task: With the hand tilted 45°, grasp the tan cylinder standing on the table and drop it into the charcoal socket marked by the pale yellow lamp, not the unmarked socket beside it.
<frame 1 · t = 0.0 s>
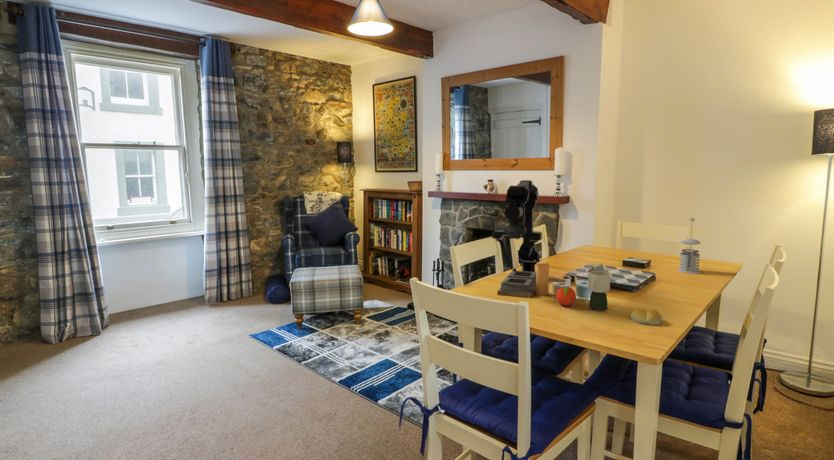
hand: (516, 256, 185), 15 cm above the table, tool pointing down, fingers open, 9 cm apart
bread roll: (646, 321, 151), on the table
electrical switch: (597, 287, 192), on the table
tan cylinder: (542, 294, 184), on the table
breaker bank: (519, 288, 193), on the table
french press: (688, 271, 215), on the table
tomato: (565, 306, 168), on the table
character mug: (598, 309, 164), on the table
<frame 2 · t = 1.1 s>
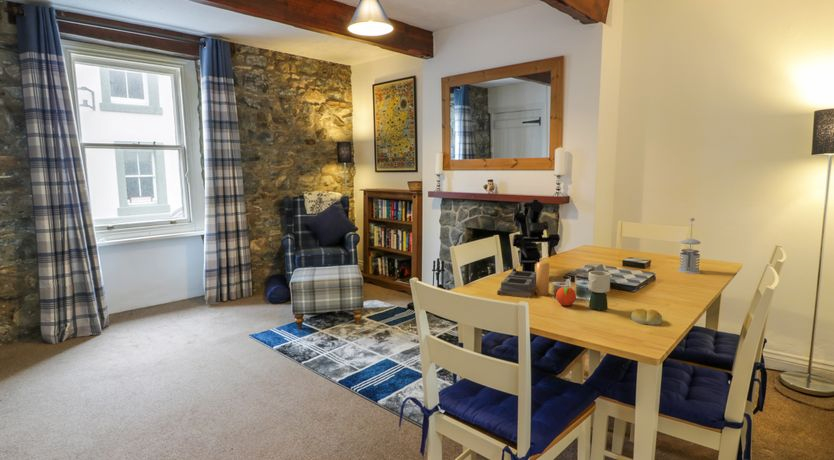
hand: (538, 257, 190), 13 cm above the table, tool tilted 45°, fingers open, 9 cm apart
nothing on the table moved.
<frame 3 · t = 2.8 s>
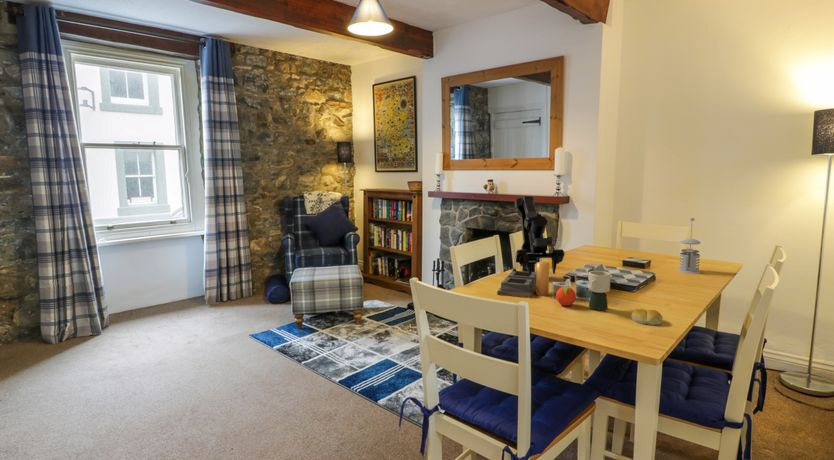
hand: (542, 273, 183), 8 cm above the table, tool tilted 45°, fingers open, 9 cm apart
nothing on the table moved.
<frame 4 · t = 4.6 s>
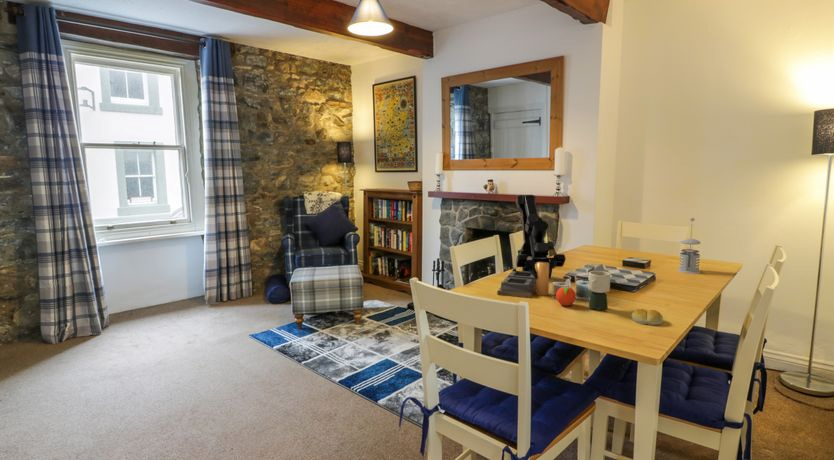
hand: (543, 278, 181), 7 cm above the table, tool tilted 45°, fingers closed on tan cylinder, 5 cm apart
tan cylinder: (542, 294, 184), on the table, touching gripper
everything else where it was.
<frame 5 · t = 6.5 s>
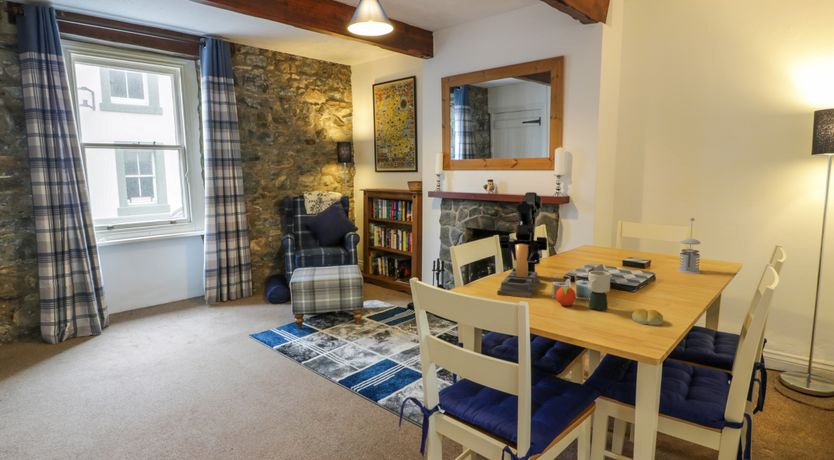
hand: (521, 260, 183), 13 cm above the table, tool tilted 45°, fingers closed on tan cylinder, 5 cm apart
tan cylinder: (521, 275, 186), point 7 cm above the table, touching gripper
everything else where it was.
when the fingers open (10 cm above the table, at t = 8.4 s): tan cylinder drops 1 cm, resting on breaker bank.
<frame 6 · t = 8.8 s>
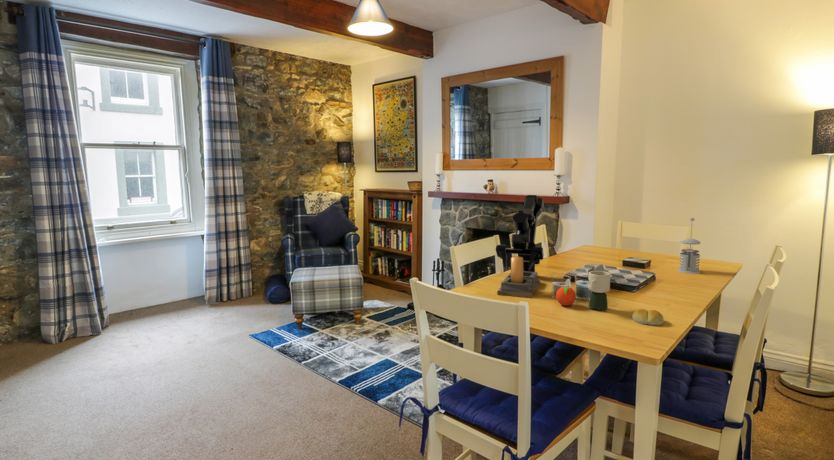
hand: (516, 269, 185), 10 cm above the table, tool tilted 45°, fingers open, 9 cm apart
tan cylinder: (517, 288, 187), point 2 cm above the table, touching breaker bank
everything else where it was.
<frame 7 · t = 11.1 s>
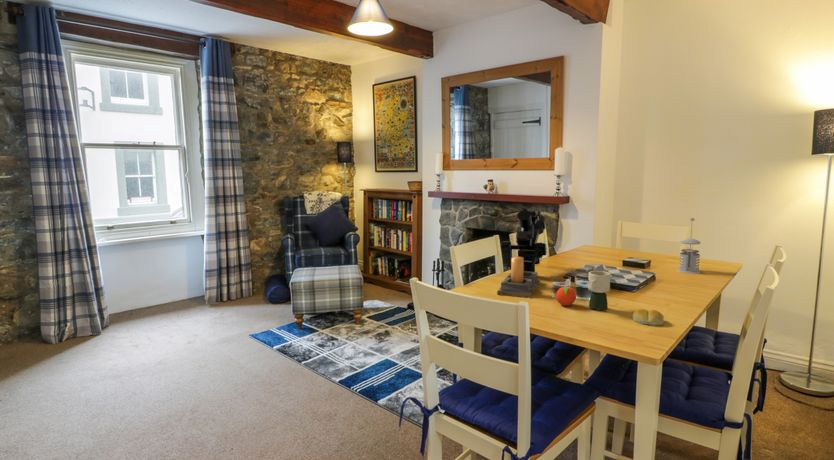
hand: (520, 264, 193), 10 cm above the table, tool tilted 45°, fingers open, 9 cm apart
nothing on the table moved.
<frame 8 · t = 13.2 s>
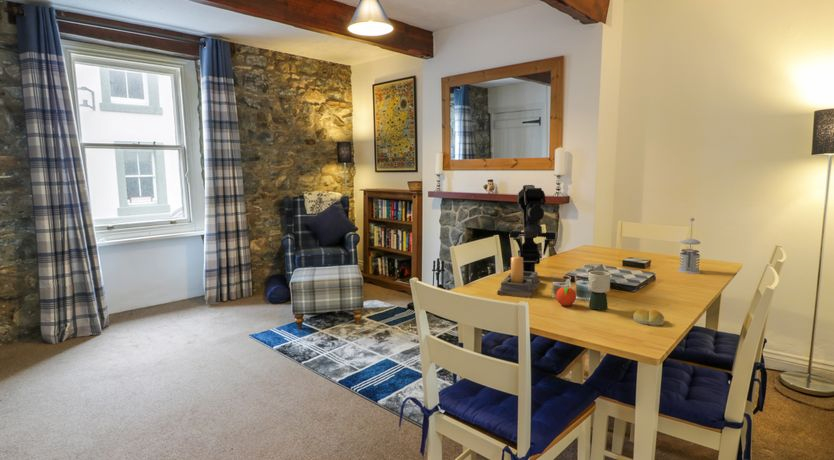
hand: (532, 254, 196), 13 cm above the table, tool pointing down, fingers open, 9 cm apart
nothing on the table moved.
at the end: tan cylinder 0.0 cm from the target spot on the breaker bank, point 1.5 cm above the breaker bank's base; tan cylinder tilted 1°; the gripper is holding nothing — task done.
